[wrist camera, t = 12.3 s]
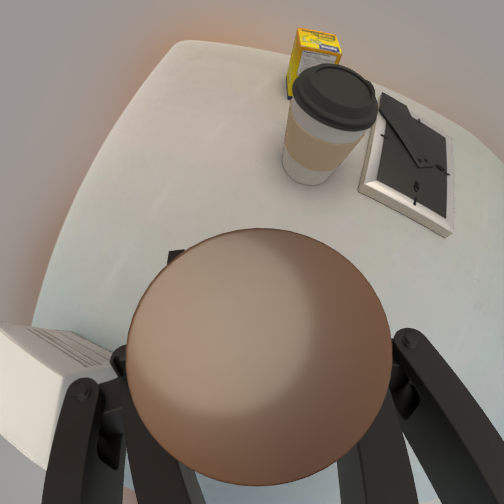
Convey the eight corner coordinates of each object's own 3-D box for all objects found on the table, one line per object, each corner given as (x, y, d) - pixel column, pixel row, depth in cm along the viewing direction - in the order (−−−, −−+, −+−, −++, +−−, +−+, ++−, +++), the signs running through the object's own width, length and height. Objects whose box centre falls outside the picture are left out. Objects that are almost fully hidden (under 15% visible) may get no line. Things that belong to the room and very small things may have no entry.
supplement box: (319, 82, 42) (336, 34, 32) (323, 104, 40) (343, 53, 30) (285, 77, 42) (297, 26, 31) (286, 99, 40) (300, 45, 30)
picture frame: (376, 102, 42) (357, 191, 36) (382, 91, 40) (366, 181, 34) (446, 143, 42) (444, 237, 36) (454, 135, 39) (456, 231, 33)
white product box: (114, 428, 25) (48, 476, 11) (53, 393, 26) (-28, 410, 11) (134, 361, 28) (64, 377, 14) (70, 328, 28) (-15, 316, 14)
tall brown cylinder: (217, 377, 18) (184, 510, 3) (198, 322, 19) (96, 272, 4) (273, 359, 19) (416, 420, 4) (254, 305, 20) (340, 199, 5)
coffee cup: (272, 188, 35) (299, 102, 21) (273, 133, 38) (294, 47, 23) (341, 196, 36) (396, 124, 21) (335, 142, 38) (375, 66, 24)
